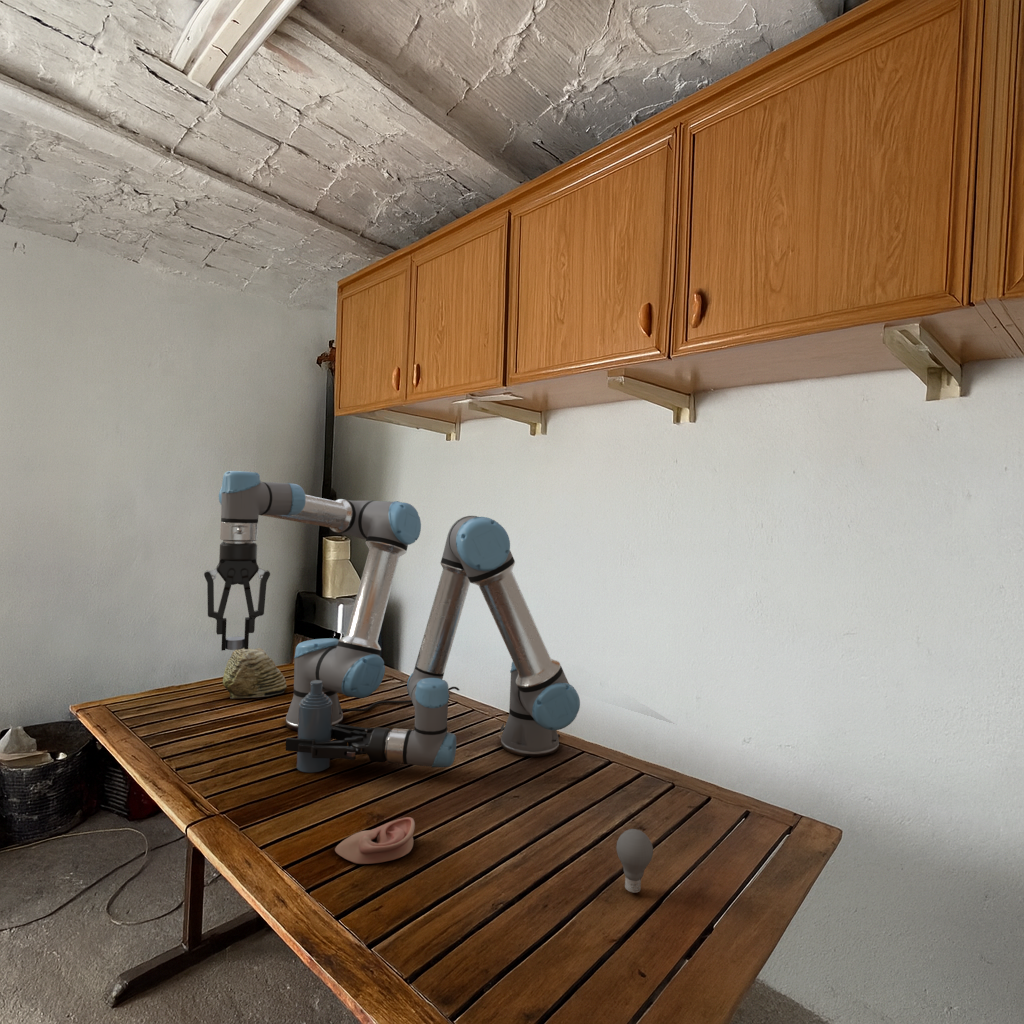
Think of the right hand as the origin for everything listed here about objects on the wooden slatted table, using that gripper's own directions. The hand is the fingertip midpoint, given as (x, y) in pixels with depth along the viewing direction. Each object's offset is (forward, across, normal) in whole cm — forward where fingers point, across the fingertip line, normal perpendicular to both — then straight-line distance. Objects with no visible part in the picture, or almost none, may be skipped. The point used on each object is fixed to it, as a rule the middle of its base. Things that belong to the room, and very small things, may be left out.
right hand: (294, 737), depth 149 cm
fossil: (+34, +46, -6) cm, 57 cm away
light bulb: (-76, -36, -6) cm, 84 cm away
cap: (+9, -11, +25) cm, 29 cm away
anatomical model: (-30, -31, -6) cm, 44 cm away
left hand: (+10, -11, +23) cm, 27 cm away
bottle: (-5, 0, -6) cm, 8 cm away
